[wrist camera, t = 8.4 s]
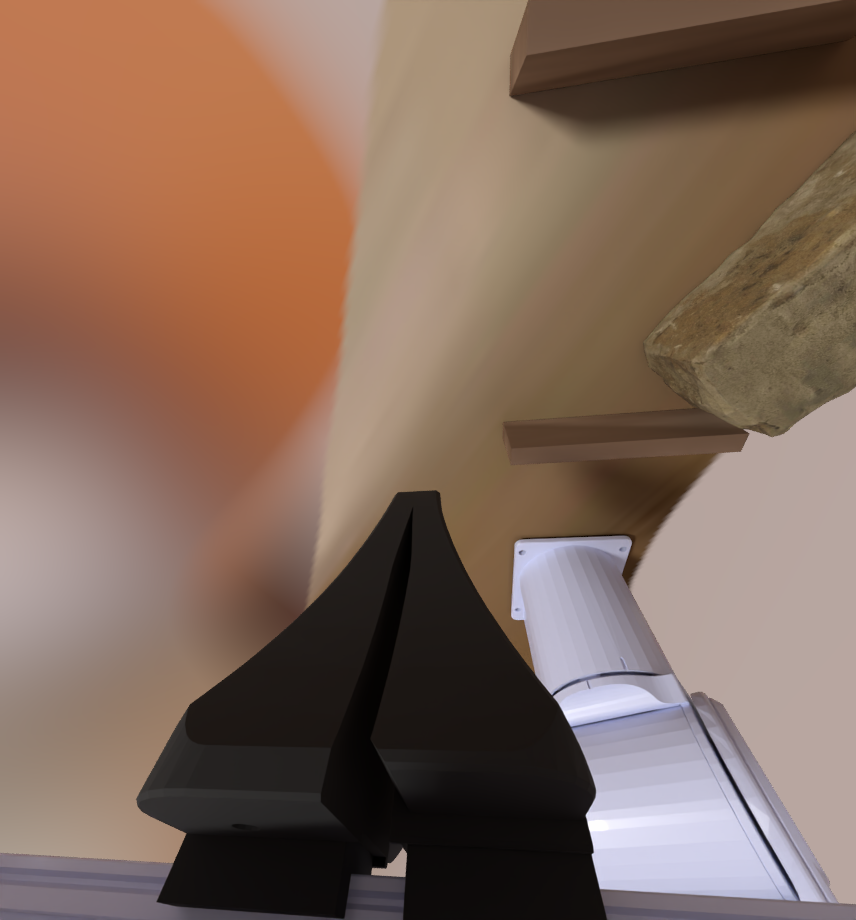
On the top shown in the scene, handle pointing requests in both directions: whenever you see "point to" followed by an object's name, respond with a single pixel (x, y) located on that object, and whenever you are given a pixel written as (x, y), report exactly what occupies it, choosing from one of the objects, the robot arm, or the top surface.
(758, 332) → the stone block
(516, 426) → the chute
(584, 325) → the top surface
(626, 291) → the top surface
